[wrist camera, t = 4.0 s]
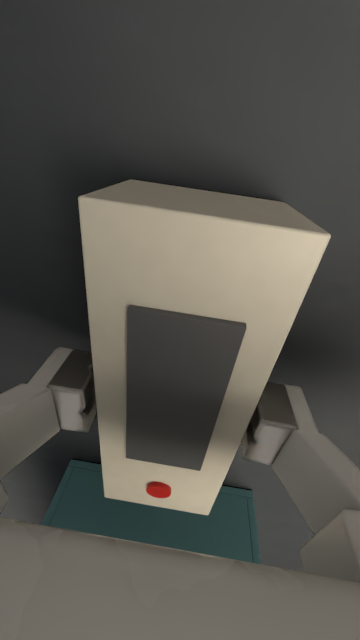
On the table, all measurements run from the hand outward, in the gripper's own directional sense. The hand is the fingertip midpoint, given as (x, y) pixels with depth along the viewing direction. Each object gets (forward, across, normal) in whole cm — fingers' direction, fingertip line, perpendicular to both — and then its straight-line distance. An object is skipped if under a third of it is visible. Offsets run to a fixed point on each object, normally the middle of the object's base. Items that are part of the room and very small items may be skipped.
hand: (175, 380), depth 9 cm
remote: (+2, 0, 0) cm, 2 cm away
